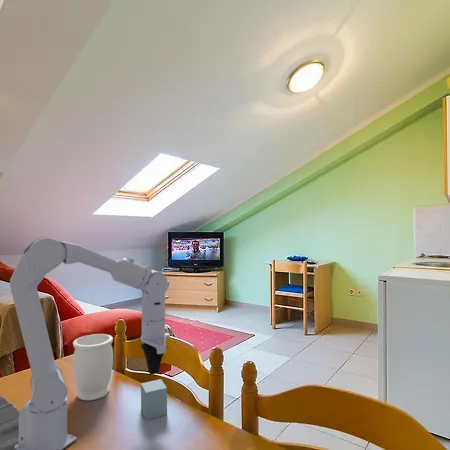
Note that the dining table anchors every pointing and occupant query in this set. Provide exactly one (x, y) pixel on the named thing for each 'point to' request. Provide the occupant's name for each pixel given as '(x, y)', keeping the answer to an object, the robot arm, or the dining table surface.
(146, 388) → the tall grey box
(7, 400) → the dining table surface
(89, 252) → the robot arm
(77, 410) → the dining table surface
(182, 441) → the dining table surface
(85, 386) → the jar
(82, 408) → the dining table surface
